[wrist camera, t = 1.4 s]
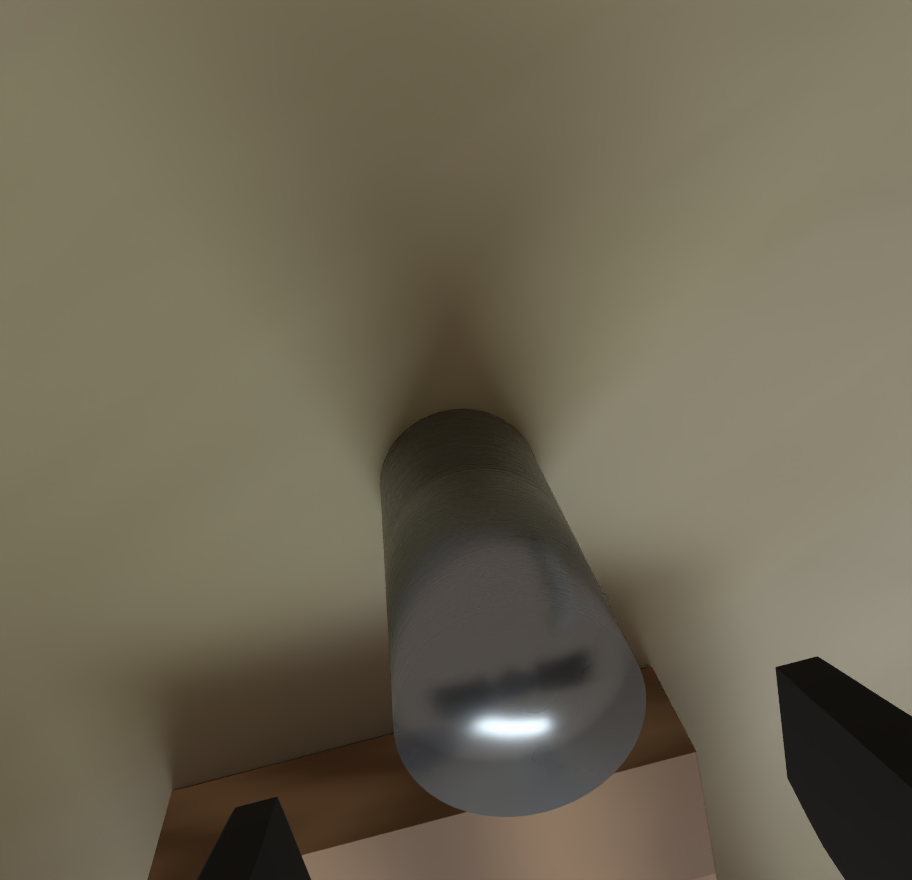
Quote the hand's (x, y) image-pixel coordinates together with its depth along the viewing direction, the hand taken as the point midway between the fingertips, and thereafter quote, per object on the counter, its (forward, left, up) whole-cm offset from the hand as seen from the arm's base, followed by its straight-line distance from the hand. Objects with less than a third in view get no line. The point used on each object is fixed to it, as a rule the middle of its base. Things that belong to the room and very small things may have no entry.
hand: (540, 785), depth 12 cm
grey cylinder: (0, 0, -10) cm, 10 cm away
